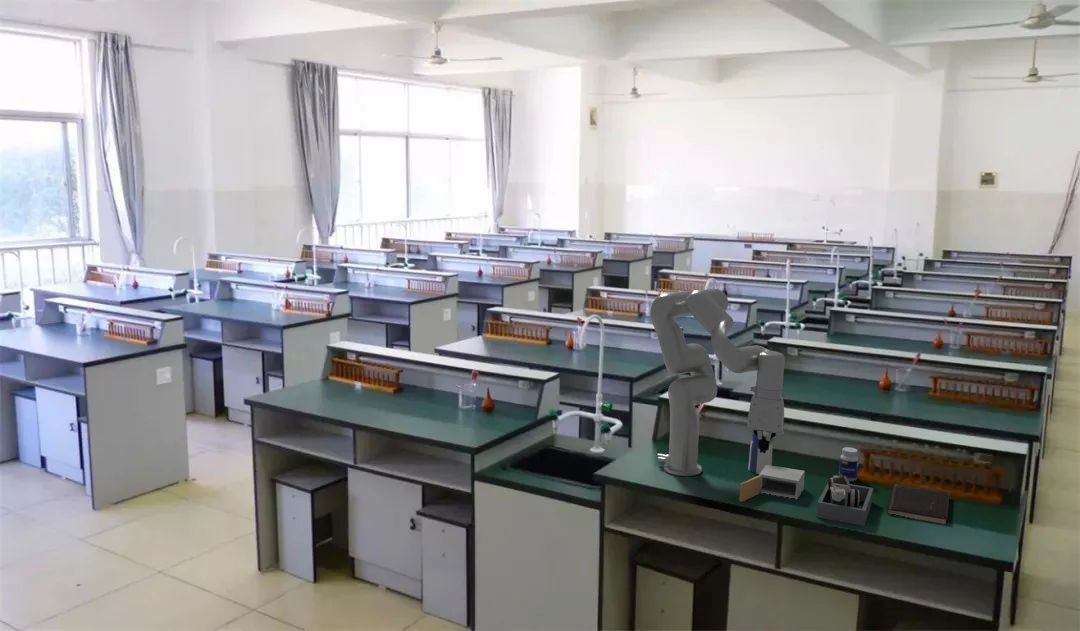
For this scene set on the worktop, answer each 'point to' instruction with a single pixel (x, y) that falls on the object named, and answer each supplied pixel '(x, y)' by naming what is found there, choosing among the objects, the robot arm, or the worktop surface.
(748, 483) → the side door
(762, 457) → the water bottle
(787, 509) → the worktop surface
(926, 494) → the hardcover book
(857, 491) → the camera
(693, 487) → the worktop surface
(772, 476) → the box
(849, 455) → the pill bottle
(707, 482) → the worktop surface
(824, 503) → the box
